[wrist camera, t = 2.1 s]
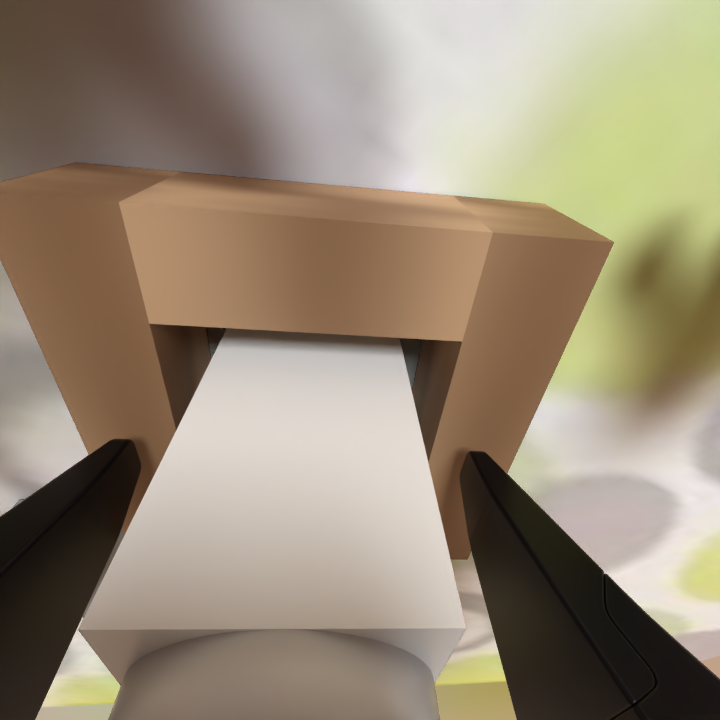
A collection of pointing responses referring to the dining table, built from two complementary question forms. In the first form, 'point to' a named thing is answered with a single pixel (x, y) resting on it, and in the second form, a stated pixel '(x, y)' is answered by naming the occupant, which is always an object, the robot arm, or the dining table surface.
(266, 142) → the dining table surface
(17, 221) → the housing
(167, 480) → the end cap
